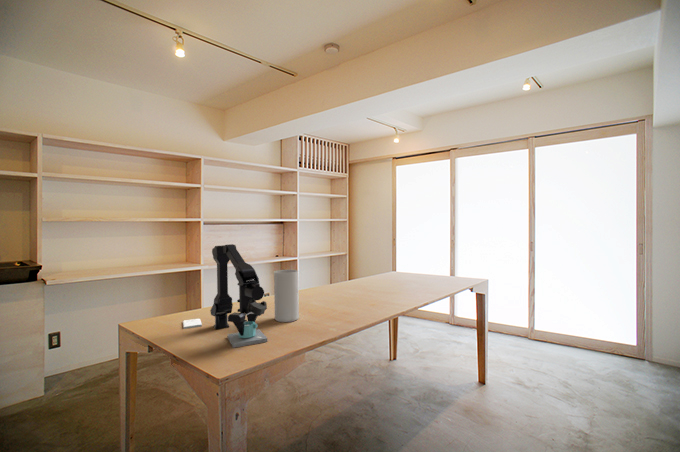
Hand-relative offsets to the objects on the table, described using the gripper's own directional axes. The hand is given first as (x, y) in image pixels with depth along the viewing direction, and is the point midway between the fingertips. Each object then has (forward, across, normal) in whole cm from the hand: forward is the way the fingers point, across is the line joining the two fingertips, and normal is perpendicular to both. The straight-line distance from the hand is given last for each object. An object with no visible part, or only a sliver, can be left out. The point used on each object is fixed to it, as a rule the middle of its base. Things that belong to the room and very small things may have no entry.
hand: (246, 332), depth 144 cm
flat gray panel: (+3, 0, 0) cm, 3 cm away
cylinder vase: (+3, +32, -3) cm, 33 cm away
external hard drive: (+4, +12, +40) cm, 42 cm away
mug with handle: (+1, 0, 0) cm, 1 cm away
